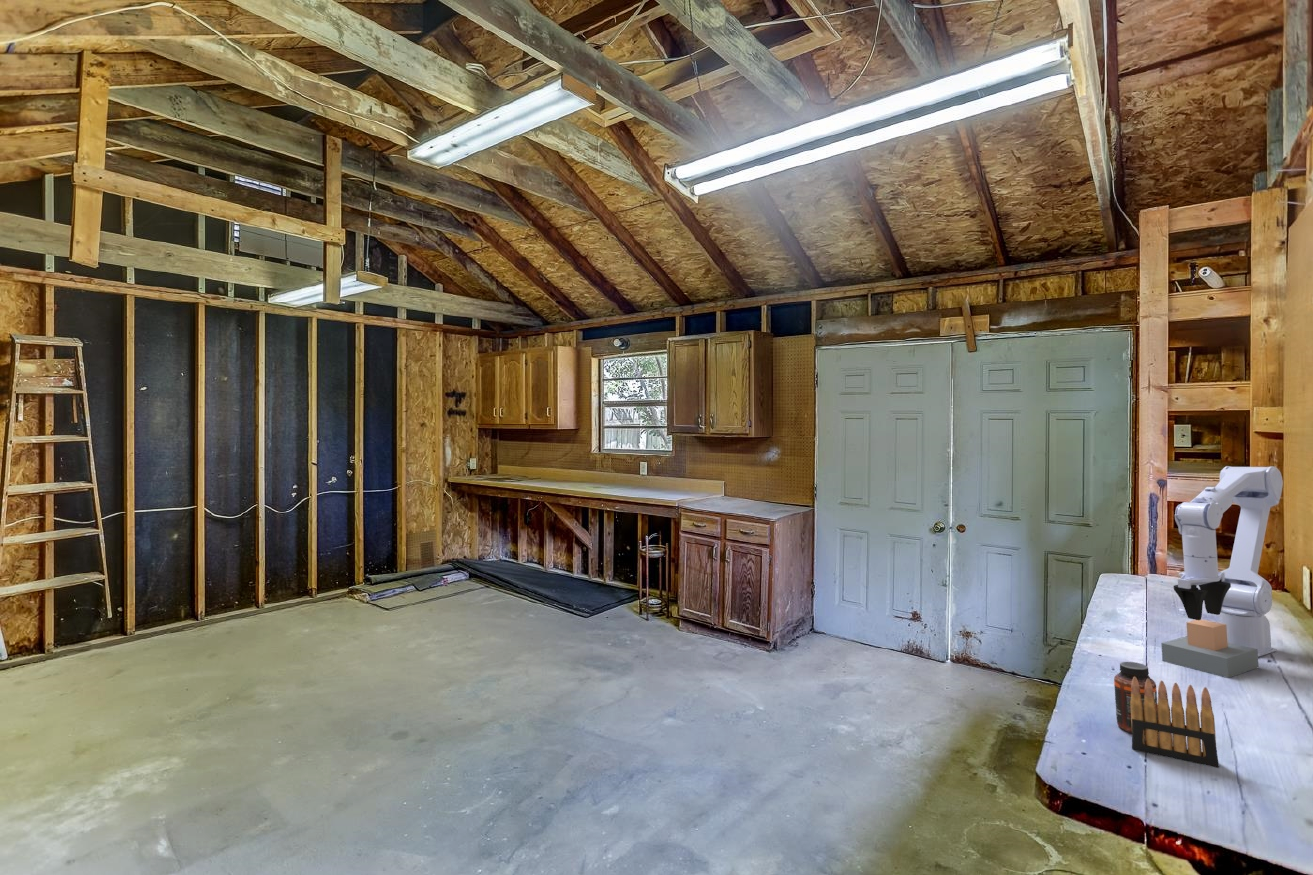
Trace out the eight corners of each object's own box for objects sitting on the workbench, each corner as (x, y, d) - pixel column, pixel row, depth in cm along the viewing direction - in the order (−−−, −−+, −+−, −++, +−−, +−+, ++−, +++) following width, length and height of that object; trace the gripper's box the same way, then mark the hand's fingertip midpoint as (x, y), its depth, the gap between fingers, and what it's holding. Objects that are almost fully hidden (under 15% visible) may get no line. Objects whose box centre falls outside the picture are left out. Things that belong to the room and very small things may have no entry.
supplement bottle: (1167, 738, 105) (1163, 671, 105) (1128, 736, 106) (1124, 670, 106) (1147, 722, 111) (1143, 659, 111) (1110, 721, 112) (1106, 658, 112)
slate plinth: (1192, 651, 144) (1191, 634, 144) (1258, 667, 133) (1257, 649, 133) (1162, 660, 140) (1161, 643, 140) (1228, 677, 129) (1226, 658, 129)
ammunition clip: (1132, 749, 102) (1127, 677, 102) (1132, 745, 103) (1127, 673, 103) (1219, 768, 95) (1214, 690, 95) (1217, 763, 96) (1212, 686, 97)
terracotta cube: (1200, 640, 140) (1199, 618, 140) (1227, 647, 135) (1226, 624, 135) (1187, 644, 138) (1186, 622, 138) (1215, 650, 133) (1213, 627, 133)
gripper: (1196, 549, 144) (1200, 607, 144) (1160, 556, 138) (1164, 617, 138) (1234, 554, 138) (1238, 614, 137) (1198, 561, 132) (1202, 624, 132)
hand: (1204, 616), depth 137 cm, fingers open, 7 cm apart
